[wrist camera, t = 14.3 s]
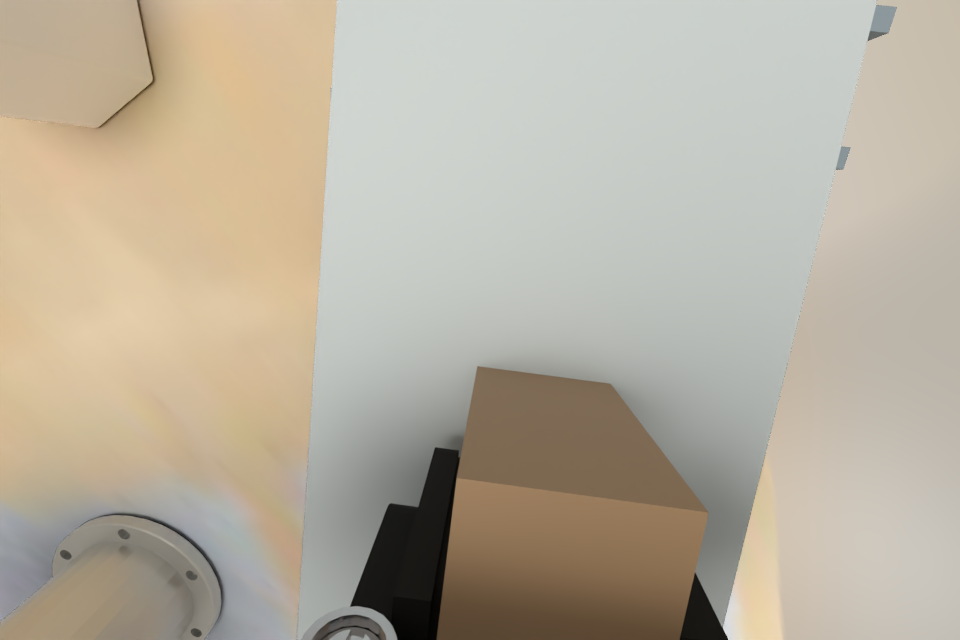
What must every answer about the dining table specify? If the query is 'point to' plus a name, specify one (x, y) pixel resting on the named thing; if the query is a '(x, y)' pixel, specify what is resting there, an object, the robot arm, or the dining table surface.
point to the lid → (566, 293)
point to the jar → (70, 59)
